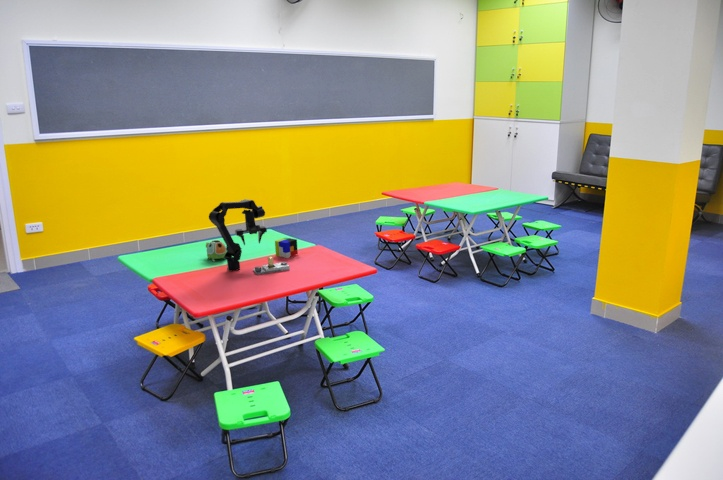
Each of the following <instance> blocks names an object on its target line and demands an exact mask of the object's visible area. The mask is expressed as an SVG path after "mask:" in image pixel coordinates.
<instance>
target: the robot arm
mask: <svg viewBox="0 0 723 480" xmlns="http://www.w3.org/2000/svg"><path fill="white" fill-rule="evenodd" d="M233 209H243V211H242V212H241V214H243V215H244V221H245V222H244V223H245V229H242V228H237V229H235V230H234V234H235V235H236V236H237V237H239V238H240V239H241V241H242V244H243V246H246V242H245V235H244V234H247V233H249V235H254V234H255V235H257V234H258V235H257V237H258V239H257V240H258V244H260V243H261V240H262V237H263V235H264V234H265V233H267V231H268V228H267V227H266V226H264V225H262V226H261V225H260V224H256V219H259V218H260V219H261V218H263V217H265V215H266V212H265V209H264V208H263V206H261V205H260V206H257V204H256V202H255V200H253V199H243V200H239V201H228V202H227V201H225V202H223V201H222V202H220V203H219V204H218V205H217V206H215V208H213V209H212V210H211V212H209V214H208V219H209V221H210V223H212V224H213V225H214V226H215V227H216V228H217V230H218V232H219V234H220V236H221V238H222V239H223V241H224V244H225V246H226V250H227V253H226V254H225V256H224V258H223V259H224V260H226V263H227V264H226V265H227V268H226V269H227V271H228V272H233V271H239V270H241V265H240V260H241V256H242V253H243V251H242V249H243V248H241V246H240V243H238V242H237V243H236V242H235V241H234V240H233V237H232V235H231V234H230V232H229V230H228V227H227V226H226V224H225V222H226V221H225V219H226V218H225V217H226V216H227V213H228V210H233Z"/></svg>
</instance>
